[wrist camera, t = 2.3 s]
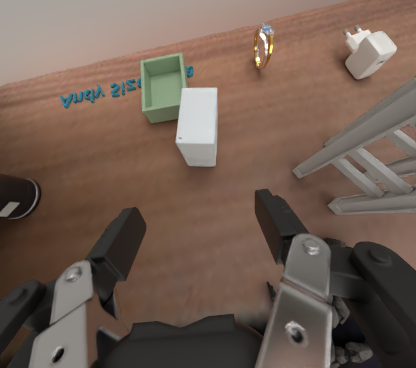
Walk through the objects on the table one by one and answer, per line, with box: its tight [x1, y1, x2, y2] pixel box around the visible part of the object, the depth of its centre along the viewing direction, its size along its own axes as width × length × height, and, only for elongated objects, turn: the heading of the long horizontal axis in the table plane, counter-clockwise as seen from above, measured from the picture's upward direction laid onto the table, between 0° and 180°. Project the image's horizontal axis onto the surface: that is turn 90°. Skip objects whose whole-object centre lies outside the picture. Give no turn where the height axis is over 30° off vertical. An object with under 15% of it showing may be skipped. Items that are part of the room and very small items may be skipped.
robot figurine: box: [267, 238, 375, 368], centre depth 24 cm, size 18×4×20 cm
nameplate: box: [60, 66, 193, 108], centre depth 40 cm, size 37×1×5 cm
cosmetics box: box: [176, 88, 218, 167], centre depth 29 cm, size 10×6×10 cm, turn 177°
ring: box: [254, 22, 274, 69], centre depth 34 cm, size 7×3×8 cm, turn 9°
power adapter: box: [343, 25, 397, 79], centre depth 33 cm, size 11×5×6 cm, turn 18°
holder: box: [140, 53, 188, 124], centre depth 36 cm, size 10×14×4 cm
